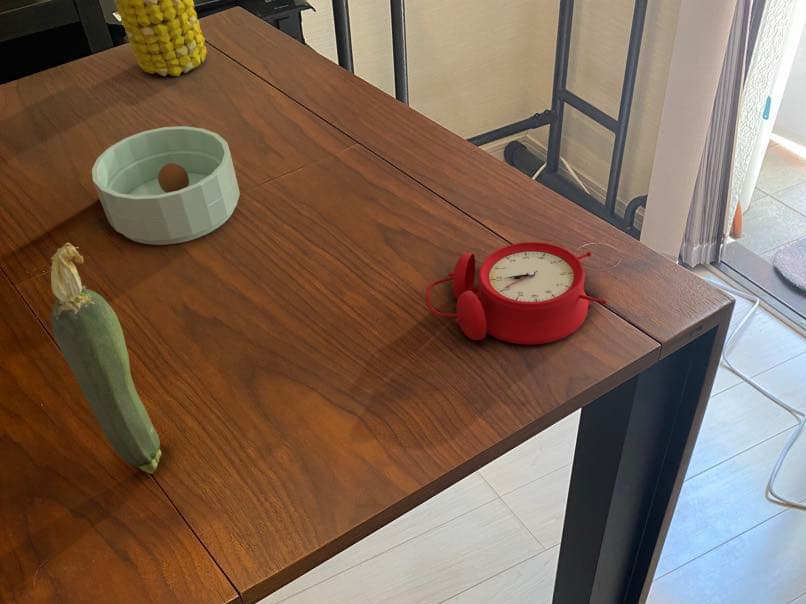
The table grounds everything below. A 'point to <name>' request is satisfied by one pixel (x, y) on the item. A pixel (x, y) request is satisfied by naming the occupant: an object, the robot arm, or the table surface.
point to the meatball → (173, 178)
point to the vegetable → (101, 363)
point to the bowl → (144, 198)
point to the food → (163, 34)
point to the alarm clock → (520, 294)
